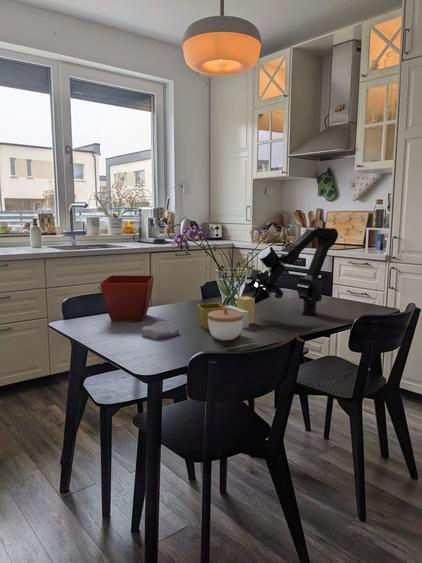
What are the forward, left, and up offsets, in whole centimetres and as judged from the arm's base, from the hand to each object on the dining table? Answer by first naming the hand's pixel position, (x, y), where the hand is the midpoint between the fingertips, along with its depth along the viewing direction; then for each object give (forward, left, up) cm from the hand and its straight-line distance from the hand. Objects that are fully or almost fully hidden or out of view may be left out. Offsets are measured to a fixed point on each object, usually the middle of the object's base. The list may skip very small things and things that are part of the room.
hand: (251, 304), depth 175 cm
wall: (+5, -5, -7) cm, 10 cm away
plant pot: (+2, -51, -8) cm, 52 cm away
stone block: (+22, -30, -8) cm, 38 cm away
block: (+3, -3, -7) cm, 8 cm away
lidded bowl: (+22, -6, -8) cm, 24 cm away
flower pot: (+10, -14, -8) cm, 19 cm away
